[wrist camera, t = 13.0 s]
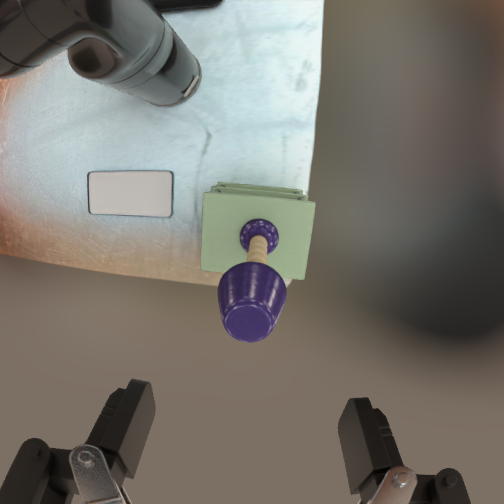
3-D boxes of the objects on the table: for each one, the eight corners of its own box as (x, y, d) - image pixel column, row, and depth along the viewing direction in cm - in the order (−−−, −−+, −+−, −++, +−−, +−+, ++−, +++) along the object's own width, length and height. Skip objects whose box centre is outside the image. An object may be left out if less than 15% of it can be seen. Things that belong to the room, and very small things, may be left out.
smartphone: (87, 172, 40) (173, 170, 40) (88, 171, 40) (174, 170, 40) (88, 214, 42) (172, 218, 42) (90, 213, 42) (173, 217, 42)
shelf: (214, 242, 44) (200, 270, 33) (217, 182, 41) (203, 192, 30) (294, 249, 44) (304, 280, 33) (301, 189, 41) (315, 203, 30)
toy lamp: (257, 266, 33) (253, 366, 17) (225, 239, 32) (193, 324, 16) (286, 235, 32) (310, 319, 16) (254, 207, 31) (248, 268, 15)
